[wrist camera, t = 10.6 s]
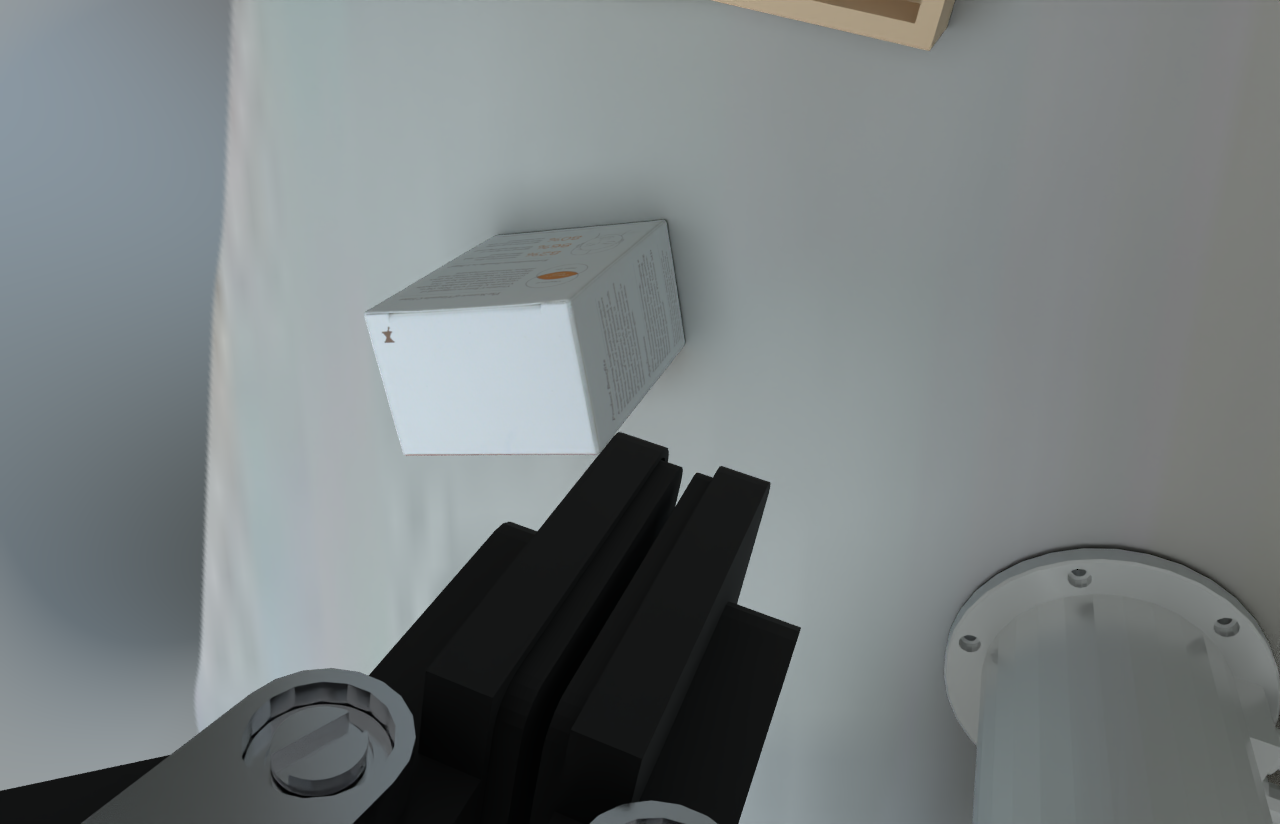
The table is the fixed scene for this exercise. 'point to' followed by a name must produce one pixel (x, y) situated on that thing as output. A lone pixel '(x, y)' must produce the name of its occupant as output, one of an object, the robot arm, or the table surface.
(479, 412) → the small box
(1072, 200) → the table surface
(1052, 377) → the table surface
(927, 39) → the tray
